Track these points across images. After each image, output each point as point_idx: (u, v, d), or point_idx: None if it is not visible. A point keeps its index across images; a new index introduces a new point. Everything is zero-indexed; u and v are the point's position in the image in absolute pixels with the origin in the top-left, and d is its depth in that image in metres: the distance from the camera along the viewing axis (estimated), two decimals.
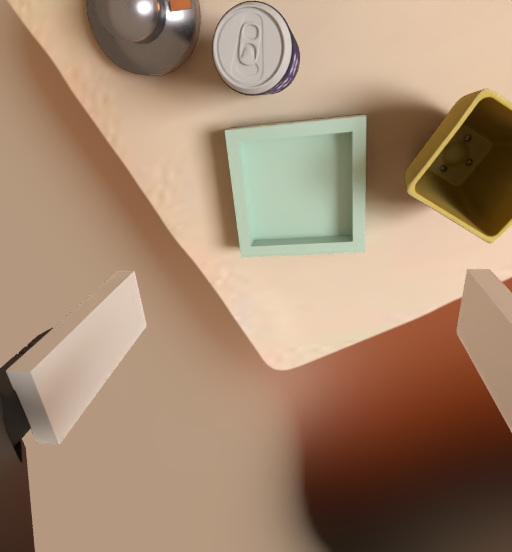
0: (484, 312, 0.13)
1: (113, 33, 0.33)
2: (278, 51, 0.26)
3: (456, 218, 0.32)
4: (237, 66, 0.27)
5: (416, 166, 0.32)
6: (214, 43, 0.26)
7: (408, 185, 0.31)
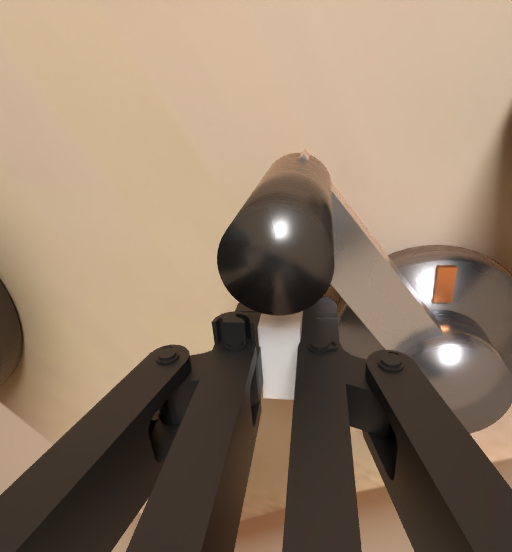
0: None
1: (488, 423, 0.17)
2: None
3: None
4: None
5: None
6: None
7: None
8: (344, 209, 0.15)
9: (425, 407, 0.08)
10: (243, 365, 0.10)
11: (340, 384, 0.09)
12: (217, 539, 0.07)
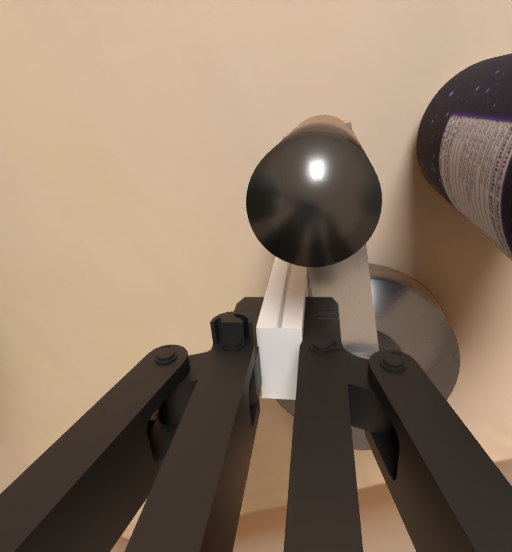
0: None
1: None
2: None
3: None
4: None
5: None
6: None
7: None
8: None
9: (427, 407, 0.08)
10: (242, 365, 0.10)
11: (342, 384, 0.09)
12: (216, 539, 0.07)
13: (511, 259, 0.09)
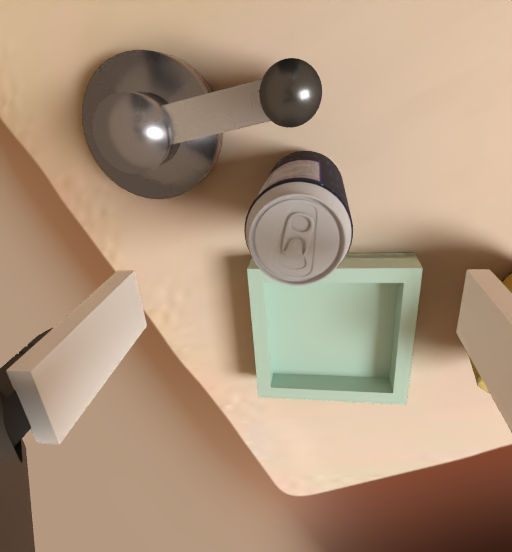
0: (484, 312, 0.13)
1: (101, 149, 0.26)
2: (335, 248, 0.19)
3: None
4: (278, 257, 0.20)
5: None
6: (250, 232, 0.20)
7: (479, 377, 0.25)
8: None
9: None
10: None
11: None
12: None
13: (261, 190, 0.21)
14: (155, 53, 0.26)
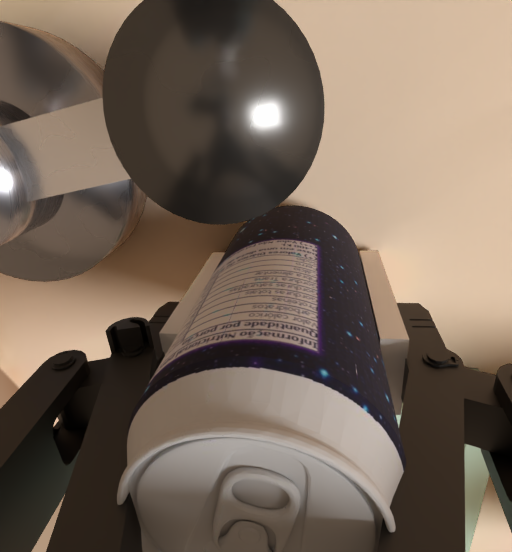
0: None
1: None
2: None
3: None
4: (206, 545, 0.08)
5: None
6: (121, 499, 0.07)
7: None
8: None
9: None
10: (143, 367, 0.10)
11: (457, 404, 0.08)
12: (137, 531, 0.07)
13: (172, 348, 0.08)
14: None
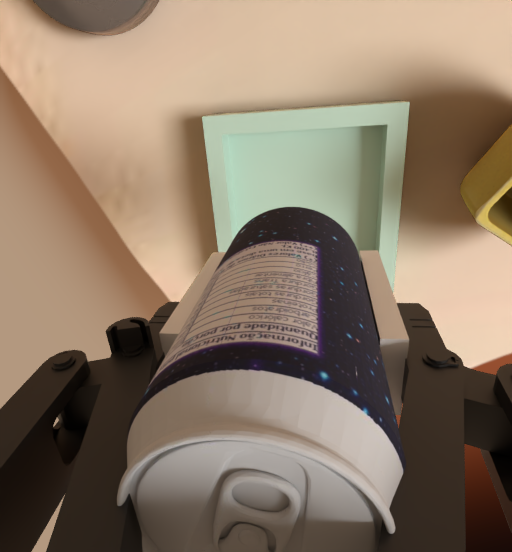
0: None
1: None
2: None
3: None
4: (206, 547, 0.08)
5: (487, 180, 0.21)
6: (121, 502, 0.07)
7: (478, 209, 0.20)
8: None
9: None
10: (143, 367, 0.10)
11: (457, 404, 0.08)
12: (136, 532, 0.07)
13: (172, 350, 0.08)
14: None
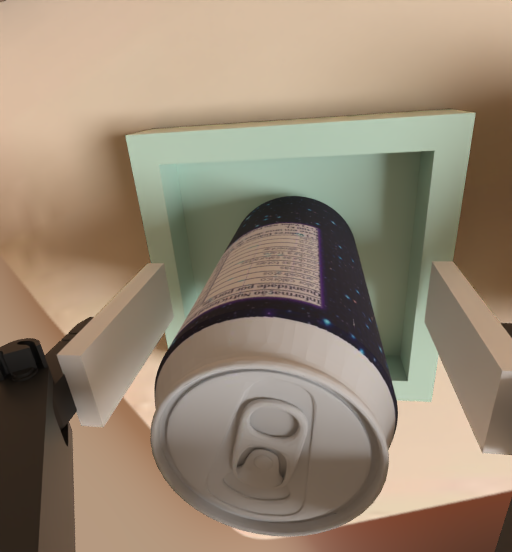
0: (444, 300, 0.13)
1: None
2: (359, 474, 0.08)
3: None
4: (225, 476, 0.09)
5: None
6: (154, 432, 0.08)
7: None
8: None
9: None
10: (39, 388, 0.10)
11: None
12: (53, 550, 0.07)
13: (193, 311, 0.10)
14: None
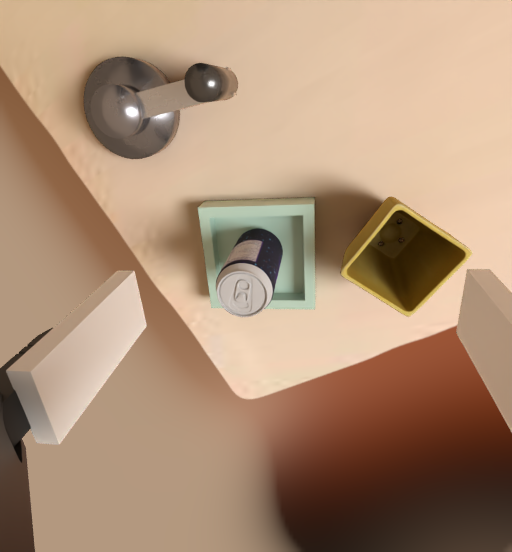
0: (484, 312, 0.13)
1: (96, 122, 0.39)
2: (262, 298, 0.36)
3: (380, 296, 0.39)
4: (233, 302, 0.37)
5: (350, 251, 0.40)
6: (217, 289, 0.37)
7: (341, 269, 0.39)
8: None
9: None
10: None
11: None
12: None
13: (225, 264, 0.38)
14: (131, 59, 0.39)
